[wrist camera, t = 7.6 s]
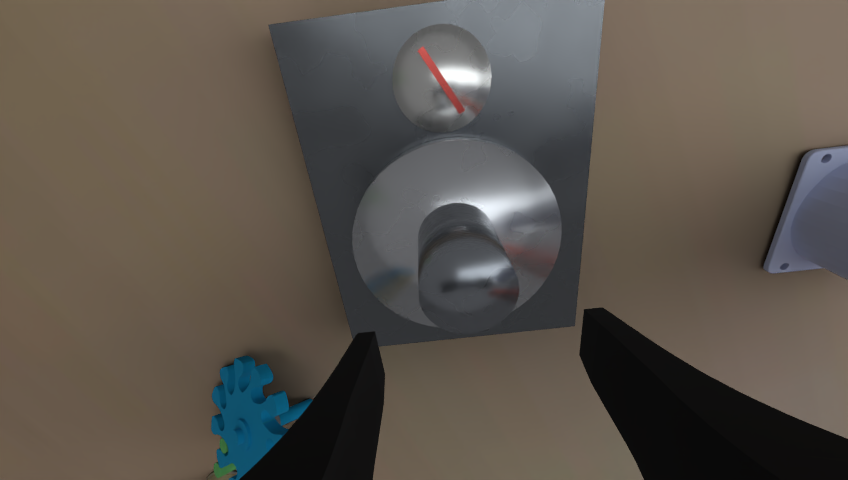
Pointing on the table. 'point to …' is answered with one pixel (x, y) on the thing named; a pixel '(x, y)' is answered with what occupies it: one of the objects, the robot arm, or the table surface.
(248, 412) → the gear
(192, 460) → the table surface
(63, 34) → the table surface
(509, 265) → the metal cylinder
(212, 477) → the lighter
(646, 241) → the table surface
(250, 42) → the table surface
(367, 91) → the scale
